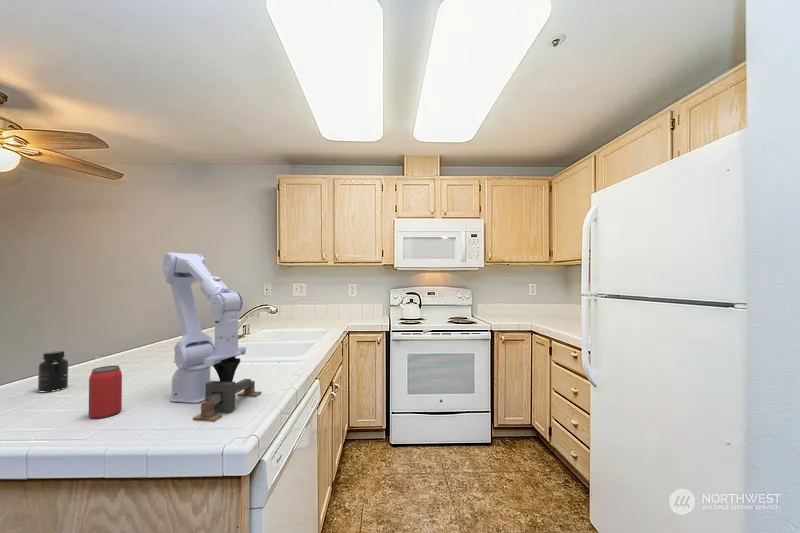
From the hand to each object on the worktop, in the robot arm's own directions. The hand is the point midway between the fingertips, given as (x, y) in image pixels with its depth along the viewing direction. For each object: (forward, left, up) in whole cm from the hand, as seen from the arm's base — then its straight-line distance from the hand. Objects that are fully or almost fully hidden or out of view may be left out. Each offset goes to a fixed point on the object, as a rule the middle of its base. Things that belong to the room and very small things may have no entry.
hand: (226, 386), depth 94 cm
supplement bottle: (-67, +7, -6) cm, 68 cm away
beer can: (-29, -8, -6) cm, 31 cm away
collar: (0, -2, -6) cm, 6 cm away
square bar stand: (0, +2, -6) cm, 6 cm away
